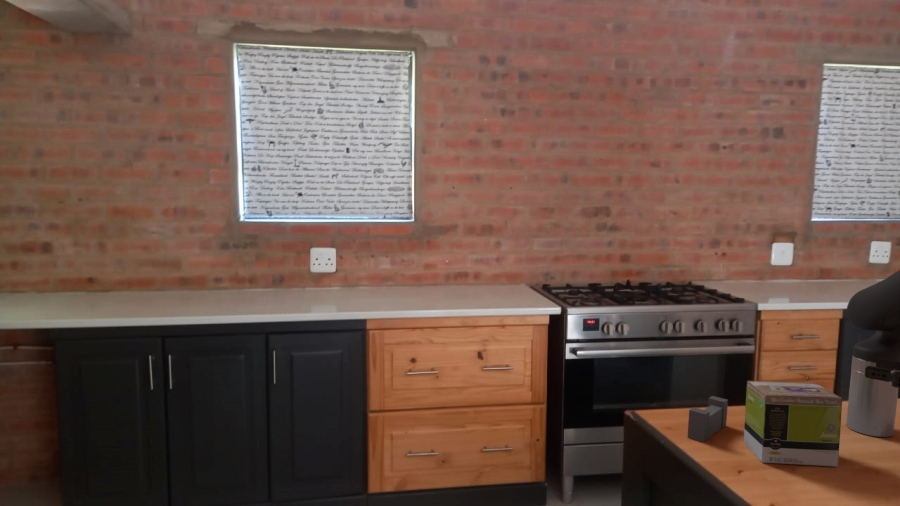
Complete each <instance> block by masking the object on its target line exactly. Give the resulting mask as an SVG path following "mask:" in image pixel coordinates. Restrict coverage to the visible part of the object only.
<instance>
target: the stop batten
mask: <svg viewBox="0 0 900 506" xmlns="http://www.w3.org/2000/svg"><path fill="white" fill-rule="evenodd" d="M707 403H708V404H707V407H706V408H705V409H701V408H697V407H695V406H694V407H691V408H689V412H688V421H687V422H688V424H687V438H689V439H692V440H696V441H698V442H701V443H704V442H706V441H708V439H709V438H710V437H712V436H713V435H714V434H716V433H717V432H719V430H721V429H724V428H725V427H727V419H728V417H727V416H728V405H729V399H727V398H722V397H718V396H714V395H711V396H710V397H708V398H707Z"/></svg>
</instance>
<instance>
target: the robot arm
mask: <svg viewBox="0 0 900 506" xmlns="http://www.w3.org/2000/svg"><path fill="white" fill-rule="evenodd" d="M846 316H847V320H849V322H850V324H851V325H853V326H855V327H856V328H858V329H859V330H865V331H876V332H875V333H874V334H873V335H872V336H871V337H868V338H866V339H864V340H861V341H858V342H856V343H855V344H854V345H853V348H852V349H853V350H852V357H851V358H852V359H851V368H850V370H851V371H850V379H849V392H848V401H847V411H846V422H845V423H846V427H847V428H848V429H851V430H852V431H854V432H857V433H860V434H863V435H867V436H871V437H872V436H873V437H879V438H890V437H892V436H894V433H895V423H896V416H897V404H898V396H899V389H900V269H899V270H897V271H896V272H894V273H892V274H891V275H889V276H887V277H886V278H884V279H882V280H881V281H879V282H877V283H874V284H872V285H870V286H867V287H866V288H863V289H861V290H859V291H858V292H856V293H855V294H854V295H852V297H851V298H850V300H849V301H848V303H847V306H846Z"/></svg>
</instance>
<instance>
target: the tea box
mask: <svg viewBox="0 0 900 506" xmlns="http://www.w3.org/2000/svg"><path fill="white" fill-rule="evenodd" d="M745 395H746V396H745V410H744V411H745V414H744V425H743V427H744V431H743V443H744V445H745V446H746V447H747V448H748V449H749V450H750V451H751V453H752V454H753V455H754V456H755V457H756V458H757V459H758V460H759V461H760V462H761V463H765V464H783V465H785V464H786V465H802V466H804V465H805V466H819V467H820V466H822V467H837V468H838V467H839V457H840V443H841V442H840V440H841V426H842V409H843V408H842V407H843V397H841V396H839V395H837V394H835V393H834V392H832V391H830V390H829V389H827V388H825V387H823V386H821V385H820V384H819V383H816V382H794V381H793V382H792V381H791V382H789V381H787V382H786V381H763V380H762V381H761V380H747V381H746V394H745Z"/></svg>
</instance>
